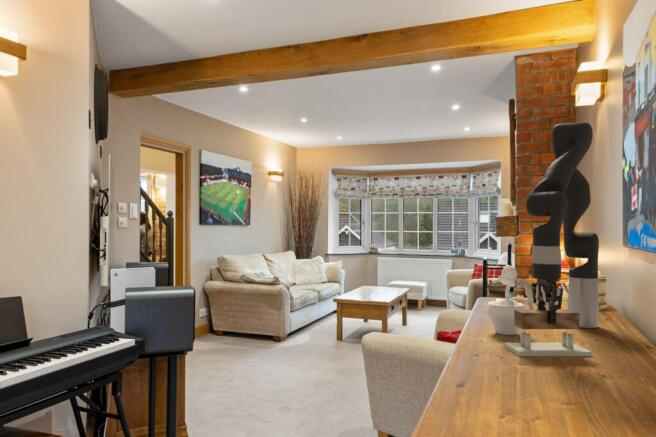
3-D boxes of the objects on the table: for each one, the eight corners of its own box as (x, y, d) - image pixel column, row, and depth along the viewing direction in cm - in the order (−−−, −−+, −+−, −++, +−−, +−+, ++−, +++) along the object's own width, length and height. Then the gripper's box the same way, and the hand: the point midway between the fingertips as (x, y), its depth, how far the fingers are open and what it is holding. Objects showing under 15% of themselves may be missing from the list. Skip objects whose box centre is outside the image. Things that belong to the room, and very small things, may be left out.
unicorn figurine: (513, 308, 202) (513, 277, 202) (562, 313, 190) (562, 280, 190) (507, 310, 196) (507, 278, 197) (558, 316, 184) (557, 282, 185)
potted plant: (496, 327, 163) (496, 255, 163) (530, 333, 154) (530, 257, 155) (479, 333, 154) (479, 257, 154) (514, 339, 145) (514, 259, 146)
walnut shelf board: (569, 325, 135) (569, 309, 135) (579, 329, 130) (579, 312, 130) (514, 325, 134) (514, 309, 135) (522, 329, 129) (522, 312, 129)
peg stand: (504, 346, 137) (504, 328, 137) (571, 346, 137) (571, 329, 137) (519, 356, 127) (519, 337, 127) (591, 356, 127) (591, 337, 127)
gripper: (573, 264, 125) (573, 327, 125) (547, 260, 140) (547, 317, 139) (545, 263, 125) (545, 327, 125) (522, 260, 139) (522, 317, 139)
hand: (546, 321), depth 132 cm, fingers closed on walnut shelf board, 5 cm apart
